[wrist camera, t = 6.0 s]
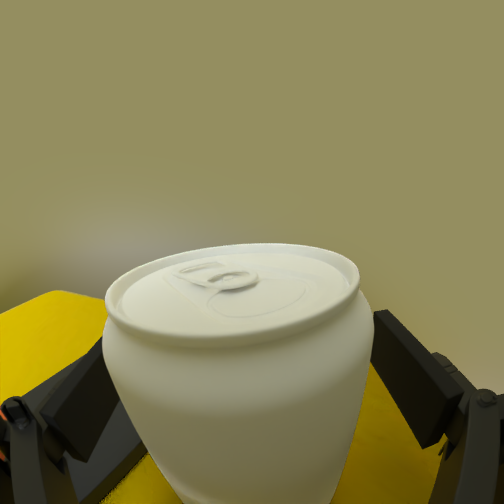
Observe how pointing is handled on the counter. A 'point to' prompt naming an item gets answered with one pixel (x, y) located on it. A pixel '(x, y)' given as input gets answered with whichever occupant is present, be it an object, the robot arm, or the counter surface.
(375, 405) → the counter surface
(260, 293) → the beverage can
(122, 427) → the warming base
